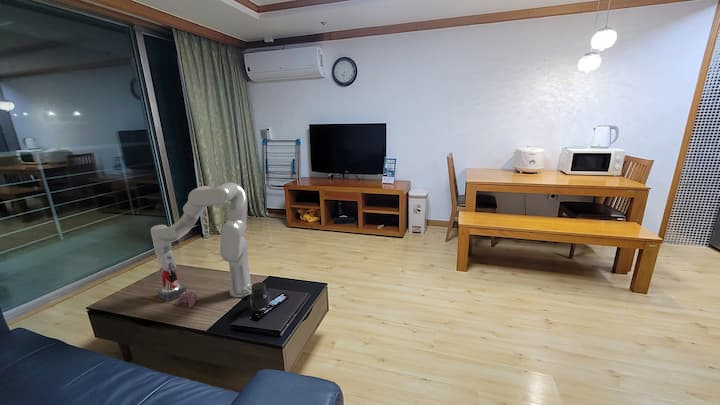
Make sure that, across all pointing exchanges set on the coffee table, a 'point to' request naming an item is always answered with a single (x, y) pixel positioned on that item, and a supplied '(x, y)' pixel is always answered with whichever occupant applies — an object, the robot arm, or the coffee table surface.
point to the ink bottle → (259, 296)
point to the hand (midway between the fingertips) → (169, 278)
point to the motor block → (171, 292)
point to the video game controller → (185, 297)
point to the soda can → (167, 280)
